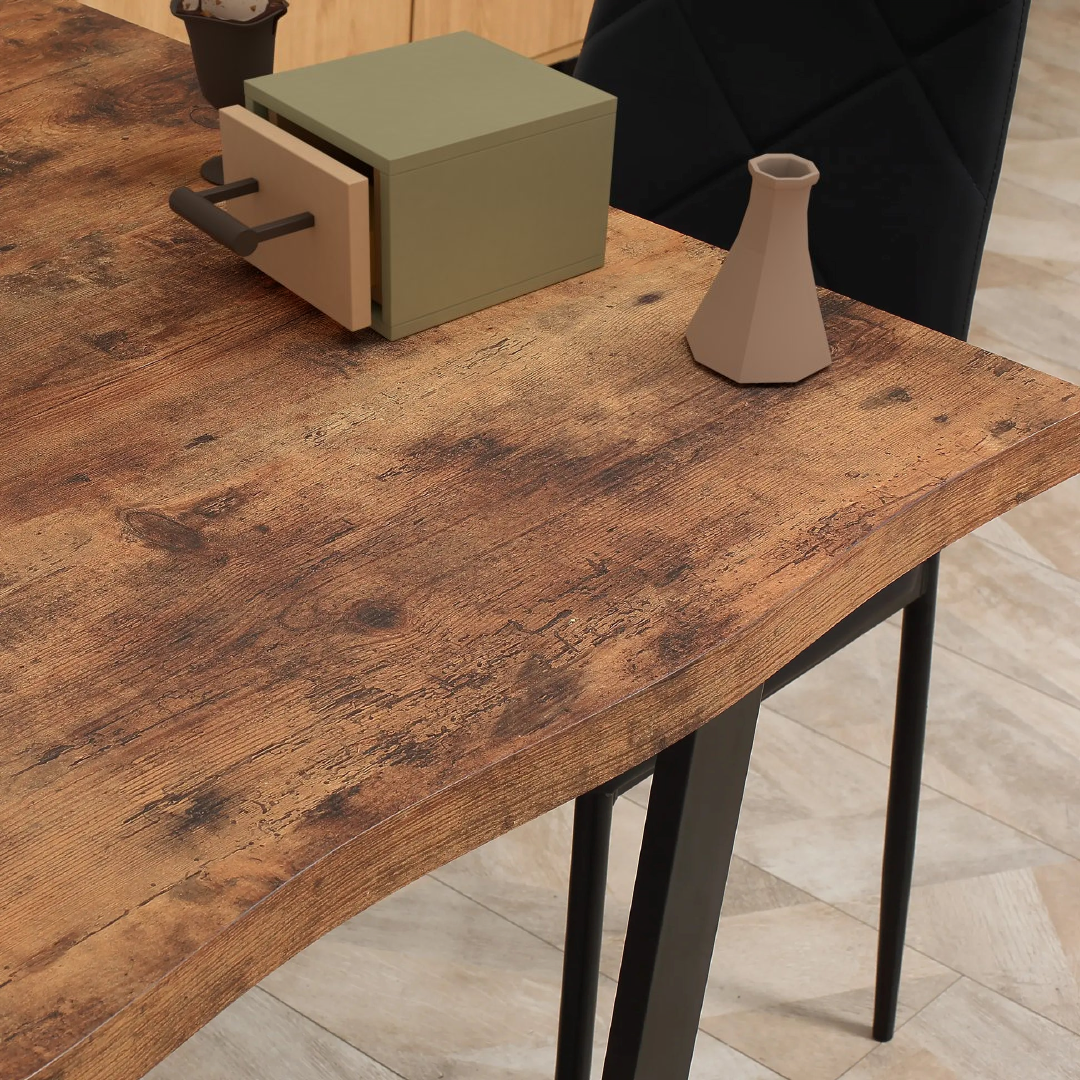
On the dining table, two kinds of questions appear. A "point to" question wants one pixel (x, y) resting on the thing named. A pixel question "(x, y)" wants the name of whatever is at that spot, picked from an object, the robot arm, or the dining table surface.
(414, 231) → the cabinet
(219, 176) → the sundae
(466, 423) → the dining table surface
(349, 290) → the drawer
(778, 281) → the flask
